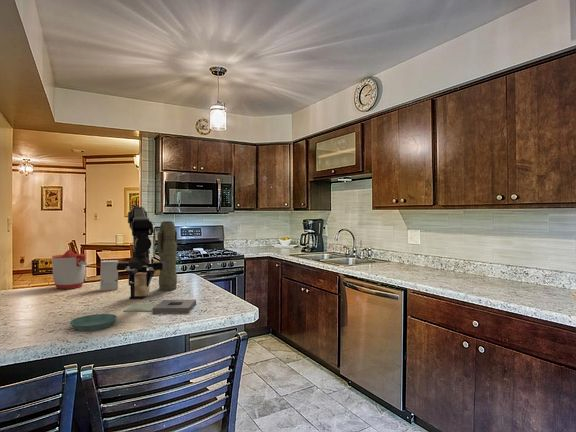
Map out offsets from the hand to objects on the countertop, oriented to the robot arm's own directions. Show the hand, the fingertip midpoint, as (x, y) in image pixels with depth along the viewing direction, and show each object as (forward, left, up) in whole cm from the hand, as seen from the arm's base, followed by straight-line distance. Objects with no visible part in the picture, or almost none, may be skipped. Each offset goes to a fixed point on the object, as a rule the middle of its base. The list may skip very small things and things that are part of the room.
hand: (142, 286), depth 156 cm
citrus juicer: (-54, +45, -9) cm, 71 cm away
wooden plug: (0, 0, -4) cm, 4 cm away
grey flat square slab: (+14, -1, -9) cm, 17 cm away
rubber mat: (0, 0, -9) cm, 9 cm away
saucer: (-8, -24, -10) cm, 27 cm away
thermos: (-1, +39, -9) cm, 40 cm away
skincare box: (-31, +39, -9) cm, 51 cm away
